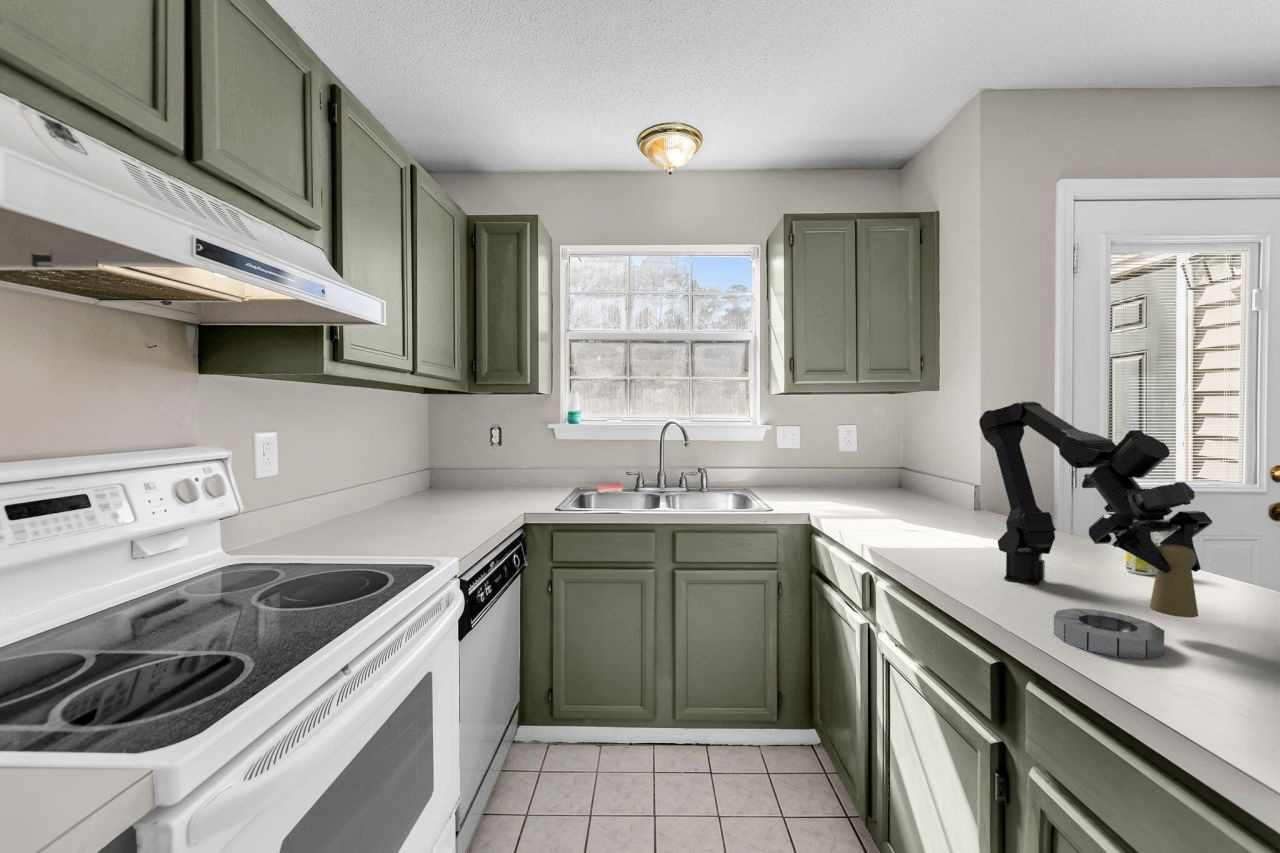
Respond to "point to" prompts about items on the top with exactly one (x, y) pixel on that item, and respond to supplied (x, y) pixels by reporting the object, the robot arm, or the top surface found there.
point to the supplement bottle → (1140, 563)
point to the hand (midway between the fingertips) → (1183, 571)
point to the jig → (1109, 633)
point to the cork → (1175, 583)
